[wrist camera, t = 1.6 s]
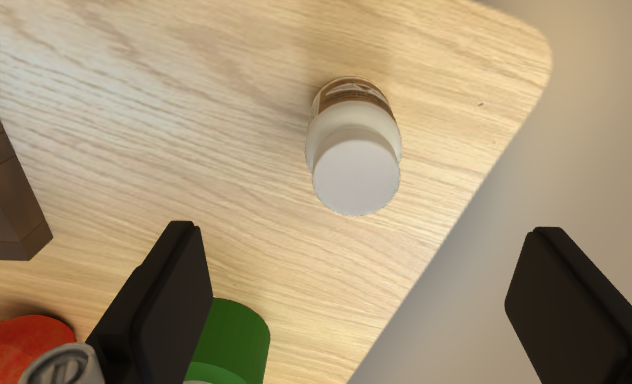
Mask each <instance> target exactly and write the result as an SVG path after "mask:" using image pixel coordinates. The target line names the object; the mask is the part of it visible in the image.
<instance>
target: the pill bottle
mask: <svg viewBox="0 0 632 384" xmlns="http://www.w3.org/2000/svg"><path fill="white" fill-rule="evenodd" d="M401 155H402V139H401V135H400V131H399V128H398V125H397V123H396V121H395V118H394V116H393V113H392V111H391V108H390V106H389V103H388V100H387V98H386V96H385V95H384V93H383V92H382V90H381V89H380V88H379V87H378V86H377V85H376V84H374V83H373V82H371V81H369V80H367V79H364V78H360V77H350V76H349V77H342V78H338V79H336V80H334V81H332V82H330V83H328V84H327V85H326V86H324V87H323V88H322V89H321V90H320V91H319V93H318V94H317V96H316V97H315V99H314V101H313V104H312V108H311V112H310V118H309V123H308V128H307V134H306V140H305V157H306V162H307V165H308V167H309V170H310V171H311V173H312V183H313V188H314V191H315V193H316V195H317V197H318V198H319V200H320V201H321V202H322V203H323V204H324V205H325V206H326V207H328V208H329V209H331V210H332V211H334V212H337V213H339V214H342V215H347V216H363V215H367V214H370V213H374V212H376V211H378V210H380V209H381V208H383V207H384V206H386V205H387V204H388V203H389V202H390V201H391V200H392V198H393V197H394V196H395V194H396V192H397V190H398V187H399V183H400V168H399V162H400V159H401Z"/></svg>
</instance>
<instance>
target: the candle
mask: <svg viewBox="0 0 632 384" xmlns="http://www.w3.org/2000/svg"><path fill="white" fill-rule="evenodd" d="M269 344H270V332H269V329H268V327H267V325H266V323H265V322H264V320H263V319H262V318H261V317H260V316H259V315H258V314H257V313H255V312H254V311H252V310H251V309H250V308H248V307H246V306H244V305H242V304H239V303H236V302H233V301H230V300H225V299H216V298H213V302H212V306H211V309H210V312H209V315H208V317H207V320H206V323H205V325H204V328H203V331H202V333H201V336H200V339H199V341H198V344H197V347H196V350H195V352H194V355H193V358H192V360H191V363H190V366H189V368H188V371H187V374H186V376H185V379H184V382H183V384H263V378H264V373H265V367H266V361H267V356H268V350H269Z"/></svg>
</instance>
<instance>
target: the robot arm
mask: <svg viewBox="0 0 632 384" xmlns="http://www.w3.org/2000/svg"><path fill="white" fill-rule="evenodd" d="M212 302H213V292H212V287H211V281H210V276H209V271H208V266H207V261H206V256H205V251H204V246H203V241H202V236H201V231H200V228H199V226H194V224H193V222H192V221H171V222H170V223H169V224H168V225H167V227H166V228H165V230H164V231H163V233H162V234H161V236H160V237H159V239H158V240H157V242H156V243H155V245H154V246H153V248H152V249H151V251H150V252H149V254H148V255H147V257H146V258H145V260H144V261H143V263H142V264H141V265H140V266H138V267H136V269H135V270H134V271H133V272H132V274H131V275H130V277H129V278H128V280H127V281H126V283H125V284H124V286H123V287H122V288H121V290H120V291H119V293H118V294H117V296H116V297H115V299H114V300H113V302H112V303H111V305H110V306H109V308H108V309H107V310H106V312H105V313H104V315H103V316H102V318H101V319H100V321H99V322H98V324H97V325H96V327H95V328H94V330H93V331H92V332H91V334H90V335H89V337H88V338H87V340H86V341H85V343H78V342H74V343H67V344H63V345H60V346H58V347H55V348H53V349H51V350H49V351H47V352H45V353H44V354H42V355H41V356H39V357H38V358H37V359H35V360H34V361H33V362H32V363H31V364H30V365H29V366H28V367H27V368H26V369H25V371H24V372H23V373H22V375H21V377H20V379H19V381H18V383H17V384H183V382H184V379H185V376H186V374H187V371H188V368H189V366H190V363H191V360H192V358H193V355H194V352H195V350H196V347H197V344H198V341H199V339H200V336H201V333H202V331H203V328H204V325H205V323H206V320H207V317H208V315H209V312H210V309H211V306H212ZM505 311H506V314H507V316H508V318H509V320H510V322H511V324H512V326H513V328H514V330H515V332H516V334H517V336H518V338H519V340H520V342H521V343H522V345H523V347H524V349H525V351H526V353H527V355H528V357H529V359H530V361H531V363H532V365H533V367H534V369H535V371H536V373H537V375H538V377H539V379H540V381H541V383H542V384H632V305H631V304H630V303H629V302H628V301H627V300H626V299H625V298H624V296H623V295H622V294H621V293H620V292H619V291H618V290H617V289H616V288H615V287H614V285H612V283H611V282H610V281H609V280H608V279H607V278H606V277H605V276H604V274H602V272H601V271H600V270H599V269H598V268H597V267H596V266H595V265H594V263H593V262H592V261H591V260H590V259H589V258H588V257H587V256H586V255H585V254H584V252H583V251H582V250H581V249H580V248H579V247H578V246H577V245H576V243H575V242H574V241H573V240H572V239H571V238H570V237H569V236H568V235H567V234H566V233H565V231H564V230H563V229H561V228H560V227H536V228H535V229H534V230H533V232H529V233H528V234H527V236H526V238H525V242H524V244H523V247H522V250H521V254H520V257H519V259H518V262H517V265H516V268H515V271H514V274H513V278H512V280H511V283H510V286H509V290H508V292H507V296H506V299H505Z"/></svg>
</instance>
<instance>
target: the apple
mask: <svg viewBox="0 0 632 384" xmlns="http://www.w3.org/2000/svg"><path fill="white" fill-rule="evenodd" d="M74 342H77V340H76V338H75V336H74V333H73V331H72V330H71V329H70V328H69V327H68V326H67V325H65V324H64V323H62V322H61V321H59V320H56V319H53V318H50V317H46V316H42V315H23V316H19V317H15V318H11V319H8V320H4V321H1V322H0V384H17V383H18V381H19V379H20V377H21V375H22V373H23V372H24V371H25V369H26V368H27V367H28V366H29V365H30V364H31V363H32V362H33V361H34V360H35V359H37V358H38V357H39V356H41V355H42V354H44V353H45V352H47V351H49V350H51V349H53V348H55V347H58V346H60V345H63V344H67V343H74Z"/></svg>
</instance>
